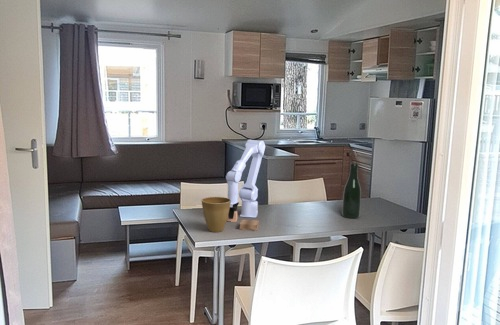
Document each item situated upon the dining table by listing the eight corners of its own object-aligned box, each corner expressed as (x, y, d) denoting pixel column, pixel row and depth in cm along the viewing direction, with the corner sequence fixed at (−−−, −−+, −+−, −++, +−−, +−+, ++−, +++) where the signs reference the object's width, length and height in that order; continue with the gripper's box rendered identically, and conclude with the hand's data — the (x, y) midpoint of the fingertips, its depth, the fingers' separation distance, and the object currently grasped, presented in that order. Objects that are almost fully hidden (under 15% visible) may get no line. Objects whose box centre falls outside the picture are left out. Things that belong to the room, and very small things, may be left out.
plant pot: (228, 225, 243) (229, 196, 241) (231, 234, 228) (232, 203, 226) (200, 225, 241) (201, 196, 238) (201, 234, 226) (201, 203, 224)
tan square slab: (258, 225, 245) (258, 220, 244) (256, 230, 236) (257, 225, 235) (242, 224, 246) (242, 219, 245) (239, 229, 237) (239, 223, 237)
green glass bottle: (338, 216, 270) (341, 161, 265) (347, 213, 278) (351, 159, 272) (353, 220, 263) (357, 163, 258) (363, 216, 271) (367, 161, 265)
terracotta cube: (237, 219, 255) (237, 211, 254) (235, 222, 250) (236, 213, 249) (228, 219, 256) (228, 210, 255) (226, 221, 251) (227, 212, 250)
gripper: (227, 189, 258) (227, 213, 260) (223, 195, 244) (222, 219, 246) (240, 190, 257) (239, 213, 259) (236, 196, 243) (235, 220, 245)
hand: (232, 216), depth 253 cm, fingers open, 7 cm apart
